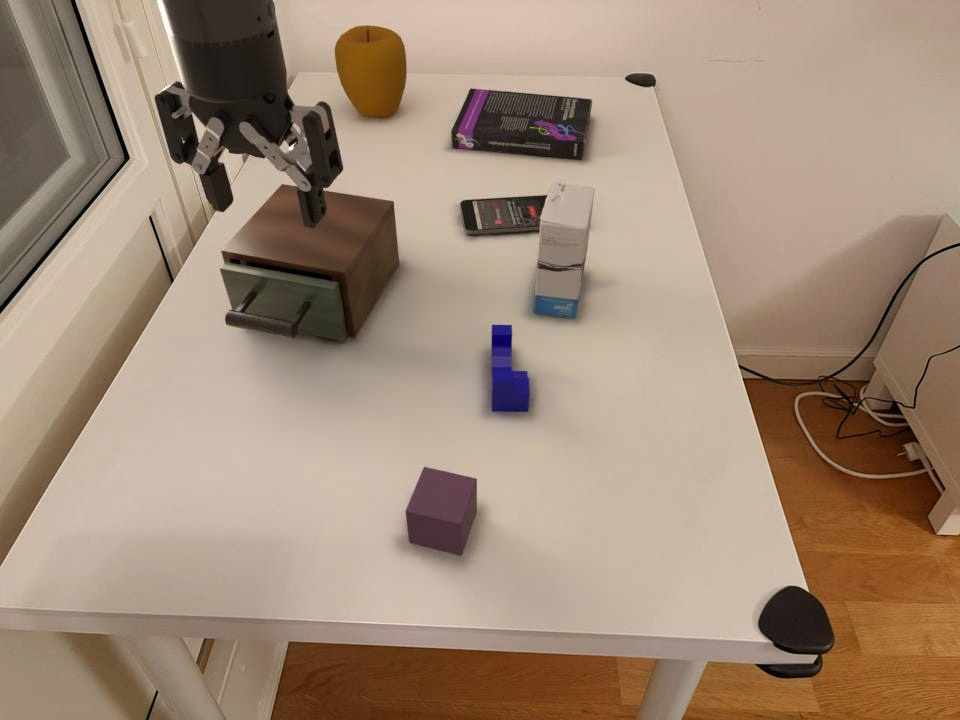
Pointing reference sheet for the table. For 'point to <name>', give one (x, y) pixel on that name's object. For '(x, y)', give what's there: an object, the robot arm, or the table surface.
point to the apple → (372, 69)
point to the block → (442, 510)
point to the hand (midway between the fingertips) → (269, 215)
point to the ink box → (562, 249)
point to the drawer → (283, 301)
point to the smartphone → (502, 214)
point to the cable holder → (506, 374)
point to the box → (522, 123)
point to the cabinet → (326, 245)
